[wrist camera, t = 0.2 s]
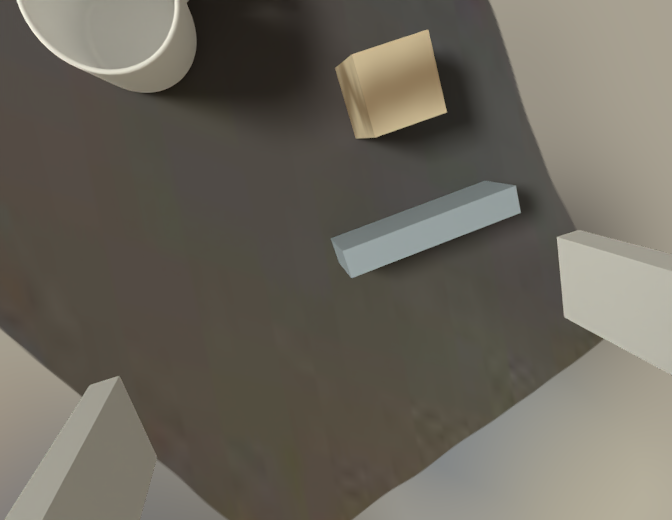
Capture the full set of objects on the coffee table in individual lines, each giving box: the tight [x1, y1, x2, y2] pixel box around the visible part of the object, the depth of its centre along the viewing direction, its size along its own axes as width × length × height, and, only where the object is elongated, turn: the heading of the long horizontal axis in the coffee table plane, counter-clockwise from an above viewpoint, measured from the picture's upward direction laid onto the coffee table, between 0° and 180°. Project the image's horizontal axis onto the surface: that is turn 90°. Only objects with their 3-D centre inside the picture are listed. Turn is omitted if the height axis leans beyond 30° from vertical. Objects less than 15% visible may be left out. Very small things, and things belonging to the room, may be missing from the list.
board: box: [331, 181, 521, 278], centre depth 39 cm, size 2×16×5 cm, turn 109°
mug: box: [17, 0, 197, 93], centre depth 28 cm, size 12×8×10 cm
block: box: [335, 30, 447, 139], centre depth 35 cm, size 6×6×6 cm
